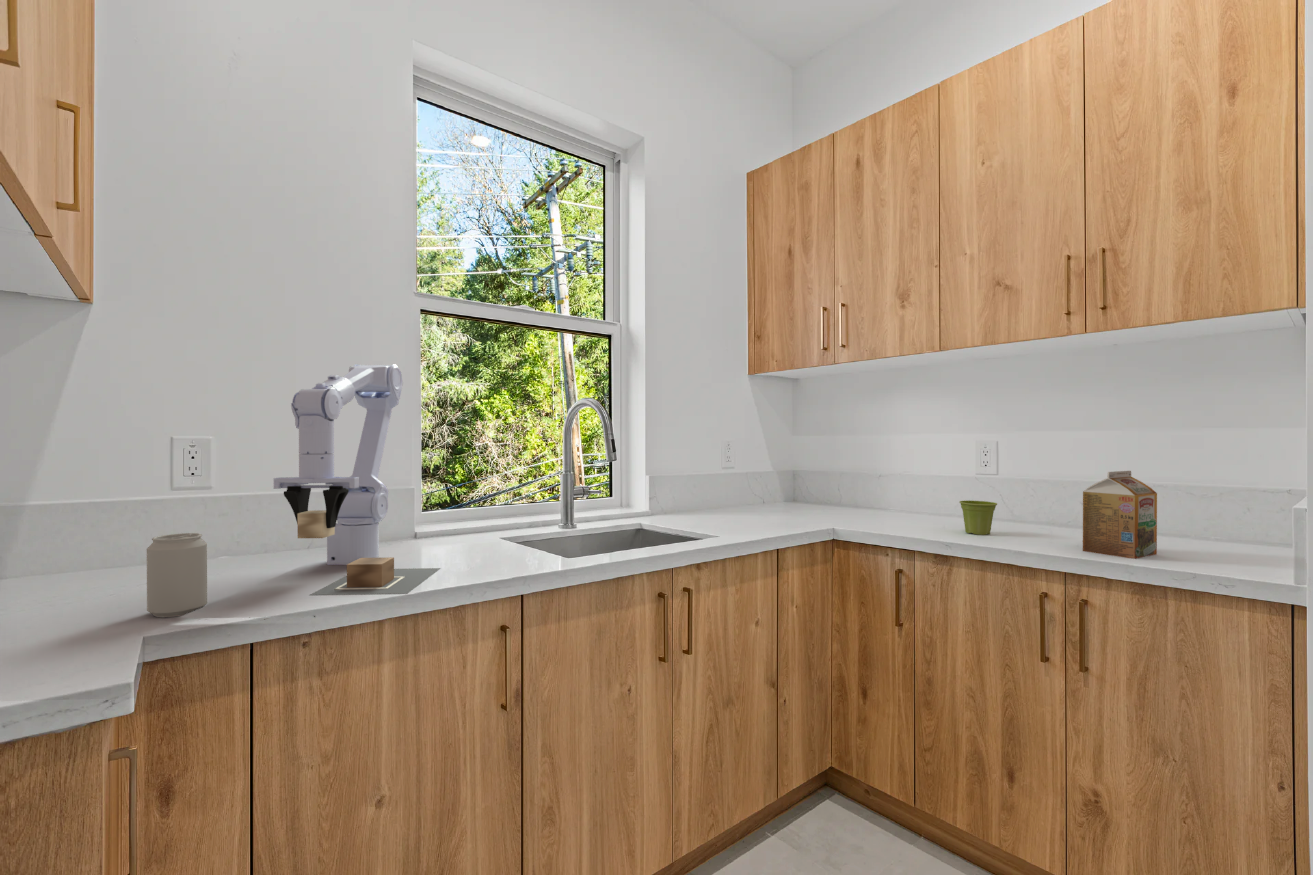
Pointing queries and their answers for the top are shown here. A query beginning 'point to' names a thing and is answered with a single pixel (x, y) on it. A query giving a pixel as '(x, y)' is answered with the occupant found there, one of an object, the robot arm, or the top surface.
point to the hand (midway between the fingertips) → (316, 527)
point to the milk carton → (1120, 517)
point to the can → (176, 574)
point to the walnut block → (370, 572)
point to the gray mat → (399, 585)
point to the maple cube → (313, 525)
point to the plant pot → (978, 516)
